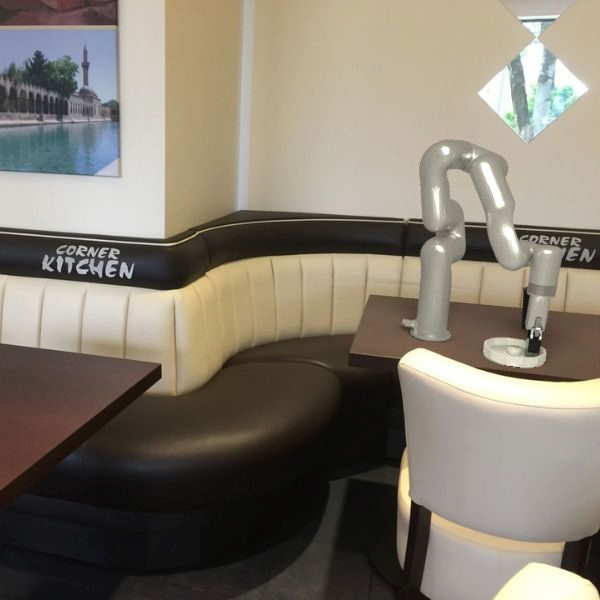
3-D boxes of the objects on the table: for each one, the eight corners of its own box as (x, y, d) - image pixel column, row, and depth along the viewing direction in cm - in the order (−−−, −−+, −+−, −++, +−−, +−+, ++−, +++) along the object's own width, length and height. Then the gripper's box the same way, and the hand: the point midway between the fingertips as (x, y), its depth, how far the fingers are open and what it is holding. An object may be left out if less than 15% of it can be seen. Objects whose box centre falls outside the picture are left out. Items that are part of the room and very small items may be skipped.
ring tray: (481, 362, 169) (482, 352, 168) (484, 343, 184) (485, 334, 183) (545, 372, 164) (547, 361, 163) (543, 352, 179) (544, 342, 178)
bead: (524, 357, 171) (526, 341, 170) (523, 353, 175) (526, 336, 173) (539, 359, 170) (541, 343, 168) (538, 355, 173) (541, 338, 172)
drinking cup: (520, 323, 206) (529, 267, 200) (543, 328, 202) (552, 270, 196) (514, 329, 200) (522, 270, 194) (537, 334, 196) (547, 274, 190)
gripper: (526, 281, 176) (518, 336, 180) (528, 295, 160) (519, 355, 165) (554, 284, 174) (545, 340, 178) (558, 298, 158) (548, 359, 162)
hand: (532, 347), depth 171 cm, fingers open, 9 cm apart
